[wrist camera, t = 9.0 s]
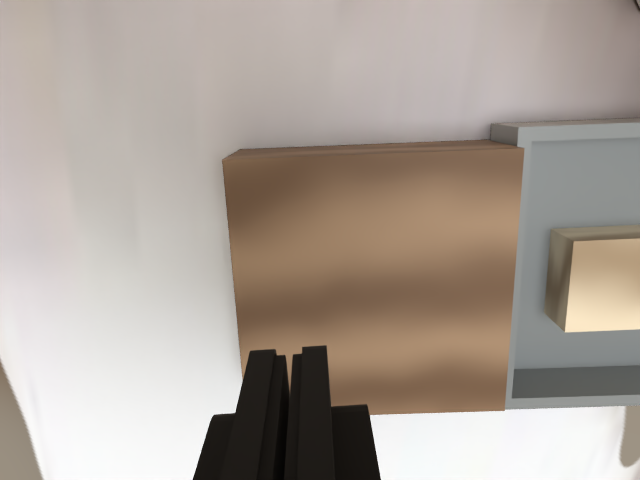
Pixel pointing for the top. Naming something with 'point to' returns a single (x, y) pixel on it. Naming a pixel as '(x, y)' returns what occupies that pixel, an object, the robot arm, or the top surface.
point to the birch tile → (594, 278)
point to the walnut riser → (381, 266)
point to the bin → (533, 253)
